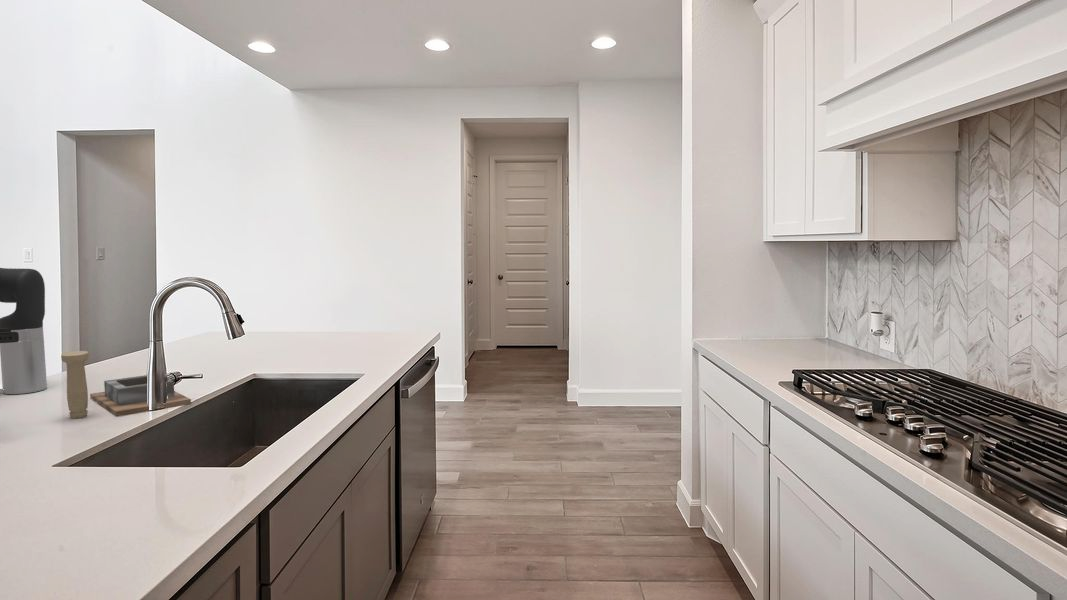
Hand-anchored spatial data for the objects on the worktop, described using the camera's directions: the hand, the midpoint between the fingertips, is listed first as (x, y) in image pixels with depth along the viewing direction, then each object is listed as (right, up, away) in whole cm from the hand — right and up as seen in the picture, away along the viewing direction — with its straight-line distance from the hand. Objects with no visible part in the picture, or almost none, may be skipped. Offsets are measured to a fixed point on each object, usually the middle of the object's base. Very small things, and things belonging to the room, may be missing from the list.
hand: (14, 334), depth 131 cm
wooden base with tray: (+12, -18, +24) cm, 32 cm away
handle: (+7, -20, +10) cm, 23 cm away
